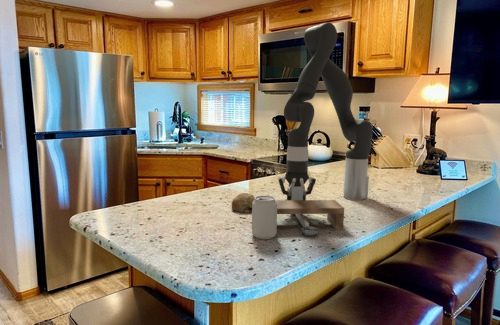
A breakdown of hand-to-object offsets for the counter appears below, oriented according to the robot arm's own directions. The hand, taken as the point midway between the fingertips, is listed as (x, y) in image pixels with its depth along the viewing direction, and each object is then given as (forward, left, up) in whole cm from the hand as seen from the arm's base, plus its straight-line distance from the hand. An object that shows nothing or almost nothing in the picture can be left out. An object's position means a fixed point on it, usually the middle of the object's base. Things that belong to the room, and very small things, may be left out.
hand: (295, 205), depth 133 cm
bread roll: (+18, -7, -4) cm, 20 cm away
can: (+14, +22, -3) cm, 26 cm away
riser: (0, +12, -3) cm, 13 cm away
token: (0, +22, -3) cm, 22 cm away
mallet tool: (0, +9, -3) cm, 9 cm away
